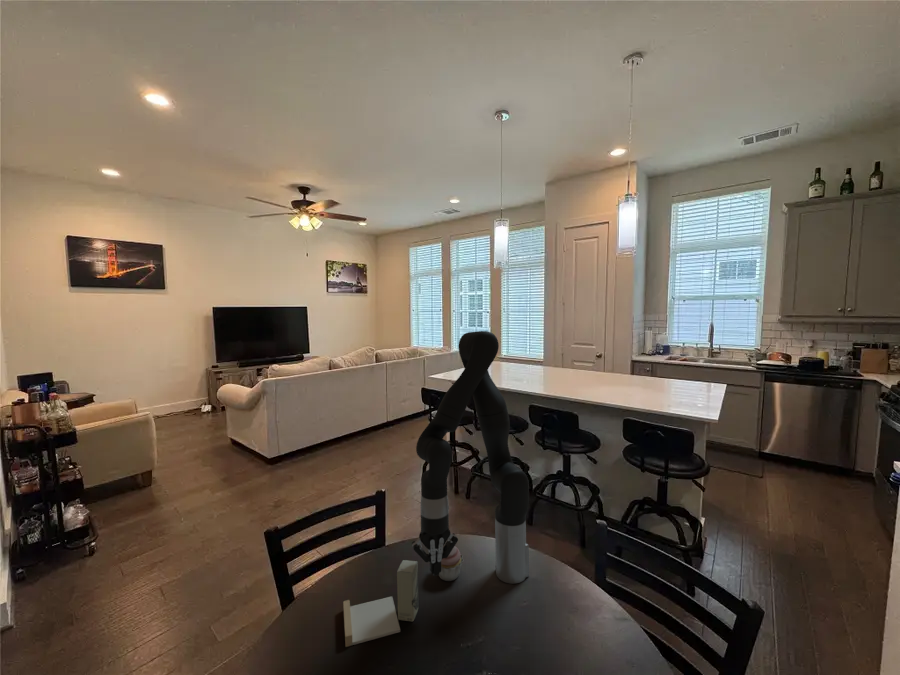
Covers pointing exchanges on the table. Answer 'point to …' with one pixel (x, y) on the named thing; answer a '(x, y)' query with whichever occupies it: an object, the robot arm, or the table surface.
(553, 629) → the table surface
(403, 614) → the box
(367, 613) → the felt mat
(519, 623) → the table surface
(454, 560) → the cupcake
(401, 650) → the table surface
